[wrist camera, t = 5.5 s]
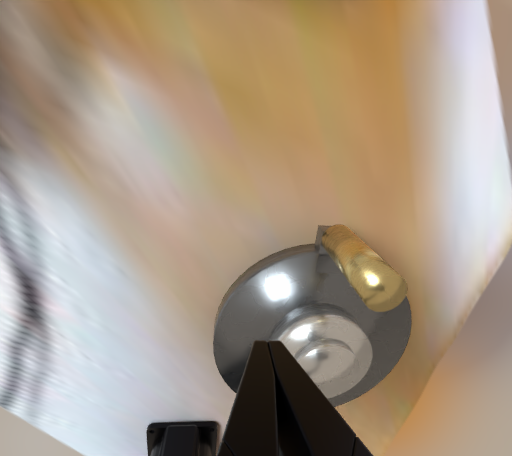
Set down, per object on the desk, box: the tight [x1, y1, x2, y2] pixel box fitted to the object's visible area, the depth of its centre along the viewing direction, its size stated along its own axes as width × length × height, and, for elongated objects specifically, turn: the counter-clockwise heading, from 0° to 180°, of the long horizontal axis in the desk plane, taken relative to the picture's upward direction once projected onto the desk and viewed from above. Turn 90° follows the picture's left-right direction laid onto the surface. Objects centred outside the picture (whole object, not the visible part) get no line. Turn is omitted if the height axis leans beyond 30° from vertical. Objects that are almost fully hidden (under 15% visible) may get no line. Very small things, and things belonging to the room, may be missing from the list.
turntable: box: [213, 225, 411, 407], centre depth 19 cm, size 17×15×8 cm
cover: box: [269, 303, 372, 399], centre depth 20 cm, size 7×7×3 cm
